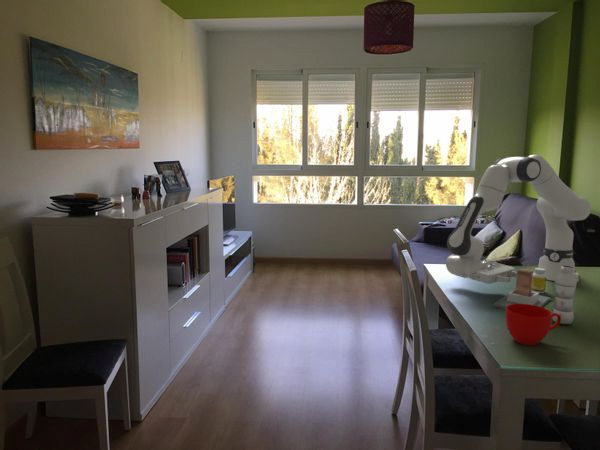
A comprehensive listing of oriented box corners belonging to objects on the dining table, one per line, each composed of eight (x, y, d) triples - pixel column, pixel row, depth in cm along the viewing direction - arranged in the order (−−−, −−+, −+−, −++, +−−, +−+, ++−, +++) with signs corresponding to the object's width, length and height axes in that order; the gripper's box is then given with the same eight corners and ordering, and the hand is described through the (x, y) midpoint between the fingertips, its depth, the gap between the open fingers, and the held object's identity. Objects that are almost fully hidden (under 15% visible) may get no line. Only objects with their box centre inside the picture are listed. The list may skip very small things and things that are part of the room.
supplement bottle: (546, 293, 202) (548, 270, 201) (532, 292, 203) (534, 270, 202) (542, 290, 207) (545, 267, 206) (529, 289, 209) (531, 266, 207)
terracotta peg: (518, 298, 193) (521, 268, 191) (530, 300, 190) (533, 270, 188) (514, 300, 189) (517, 270, 187) (526, 303, 186) (529, 272, 184)
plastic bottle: (572, 327, 164) (578, 270, 161) (549, 323, 167) (555, 267, 164) (573, 322, 169) (579, 266, 166) (551, 318, 173) (557, 263, 170)
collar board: (513, 292, 203) (514, 283, 202) (550, 299, 194) (551, 290, 194) (493, 306, 185) (494, 296, 184) (532, 314, 176) (533, 304, 175)
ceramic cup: (570, 349, 146) (574, 317, 145) (516, 350, 145) (519, 317, 143) (546, 332, 159) (549, 303, 158) (496, 333, 158) (498, 303, 156)
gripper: (469, 267, 194) (502, 274, 184) (495, 260, 207) (528, 266, 197) (468, 282, 195) (500, 290, 185) (494, 274, 208) (526, 282, 198)
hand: (515, 278), depth 191 cm, fingers open, 8 cm apart
